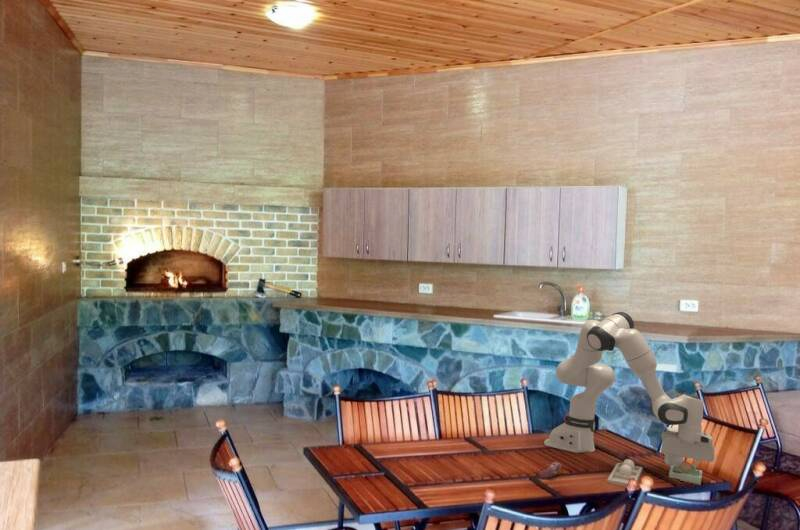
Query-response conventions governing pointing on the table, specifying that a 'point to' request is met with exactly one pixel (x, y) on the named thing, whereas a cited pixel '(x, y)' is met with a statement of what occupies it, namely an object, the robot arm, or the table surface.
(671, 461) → the skincare box
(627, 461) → the white egg
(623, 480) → the shallow rectangular tray
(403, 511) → the table surface
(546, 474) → the brown animal figurine
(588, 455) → the table surface
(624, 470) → the white egg
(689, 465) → the brown egg
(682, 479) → the dish
